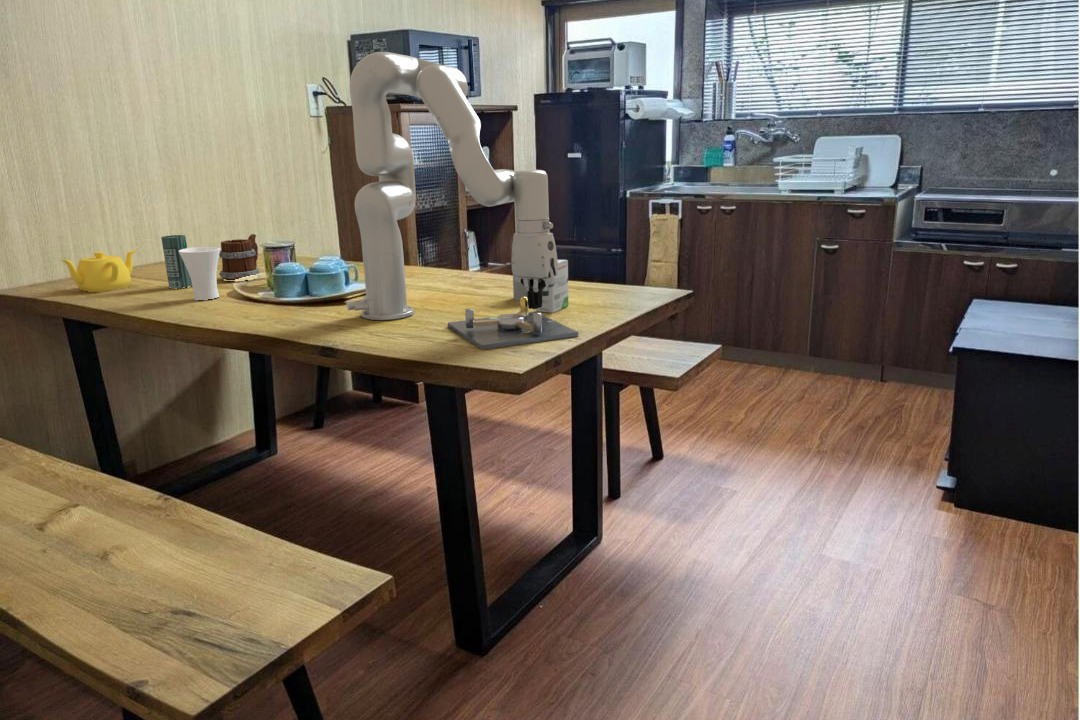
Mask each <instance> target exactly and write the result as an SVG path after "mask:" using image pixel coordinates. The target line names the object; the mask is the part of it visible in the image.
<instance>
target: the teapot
mask: <svg viewBox="0 0 1080 720" xmlns="http://www.w3.org/2000/svg"><path fill="white" fill-rule="evenodd" d="M136 251H137V249H133V250H130V251H127V253H126V256H125V262H124V260H123V259H122V258H121V257H120V256H119V255H118V256H117V255H105V251H95V252H93V255H94V256H91V257H84V258H80V259H79V261H78V264H77V268H76V266H75V265H74V262H73V261H71V260H69V259H60V261H61V262H63V263H64V264H66V266H67V268H68V272H69V275H70V277H71V279H72V280H73V282H75V283H76V286H77V287H78V289H80V290H81V291H82V290H83V291H82V292H85V291H88V292H87V293H91V292H96V293H102V292H101V291H106V292H109V291H108V290H113V289H118V288H123V287H126V286H129V285H130V286H131V283H132V277H131V274H132V272H133V268H134V267H133V255H134V253H136ZM130 286H129V287H130ZM123 289H124V288H123ZM118 290H119V289H118ZM113 291H114V290H113Z"/></svg>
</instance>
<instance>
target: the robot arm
mask: <svg viewBox="0 0 1080 720" xmlns="http://www.w3.org/2000/svg"><path fill="white" fill-rule="evenodd" d="M468 88H469V87H468V82H467V78H466V77H465V74H464V73H463V72H462V71H461V70H459V69H458V68H456V67H454V66H451V65H450V66H449V65H446V64H441V63H436V62H434V61H433V62H432V61H429V60H425V59H422V58H418V57H414V56H410V55H405V54H399V53H395V52H389V51H376V52H371V53H370V54H368V55H366V56H364V57H363V58H361V59H360V60H359V61H358V62H357V64H356V65H355V67H354V68H353V70H352V72H351V76H350V80H349V94H350V101H351V107H352V110H351V111H352V116H353V117H352V118H353V122H352V123H353V132H354V133H353V134H354V135H353V136H354V145H355V158H356V163H357V165H358V168H359V169H360V170H361V172H362V173H363V174H365V175H368V176H372V177H378V181H376V182H375V181H374V182H370V183H368V184H366V185H364V186H362V187H361V188H360V189H359V191H358V192H357V194H356V195H355V199H354V211H355V216H356V220H357V223H358V228H359V233H360V239H361V240H360V241H361V249H362V251H361V252H362V261H363V264H362V265H363V272H364V273H363V274H364V285H365V295H366V296H365V295H364V296H362V297H363V298H362V299H360V300H359V301H349V302H346V307H347V311H360V315H361V317H362V318H363V319H366V320H373V321H388V320H389V321H391V320H398V319H403V318H404V319H405V318H407V317H410V316H412V315H413V314H414V313H415V312H414V308H413V306H410V305H408V303H407V301H408V300H407V290H406V275H405V259H404V248H403V239H402V234H401V230H400V227H399V225H398V221H400V220H403V219H405V218H407V217H409V216H410V215H411V214H412V212H413V211H414V209H415V207H416V201H417V200H416V199H417V193H416V192H417V191H416V190H417V188H416V176H415V162H414V161H415V160H414V153H413V151H412V148H411V146H410V144H409V142H408V141H407V140H406V139H405V137H403V136H401V135H399V134H397V133H393V128H392V127H393V126H392V113H391V110H390V107H389V106H390V105H389V104H388V101H387V94H399V95H407V96H411V97H416V98H419V99H421V101H422V102H423V103H424V105H425V107H426V108H427V110H428V112H429V113H430V115H431V116H432V118H433V119H434V121H435V122H436V124H437V126H438V128H439V130H440V131H441V132H442V135H444V138H445V139H446V141H447V142H448V143H447V144H448V148H449V153H450V157H451V160H452V163H453V166H454V169H455V170H456V173H457V175H458V176H459V178H460V180H461V182H462V183H463V185H464V187H465V189H466V190H467V191H468V193H469V194H470V196H471V197H472V198H473V199H474V201H476V202H477V203H478V204H479V205H482V206H484V207H489V208H490V207H495V206H499V205H504V204H508V203H513V202H514V222H515V223H514V224H515V233H513V237H512V243H511V244H512V245H511V272H512V275H513V274H514V280H515V281H517V282H520V283H522V285H523V286H524V287H525V291H527V295H528V310H537V309H538V308H541V307H542V290H544V288H545V287H546V285H549V284H553V283H555V278H554V276H556V275H557V274H558V262H557V260H558V253H557V247H556V241H555V237H554V233H553V232H551V229H553V228H554V224H553V222H550V210H549V208H550V207H549V178H548V174H547V172H546V171H545V170H543V169H522V170H514V169H513V170H512V169H505V168H504V169H503V168H500V169H494V168H493V166H492V165H491V163H490V161H489V159H488V158H487V157H486V154H485V153H484V151H483V147H482V146H481V142H480V141H481V140H480V132H481V127H482V122H481V120H480V118H479V115H477V112H476V111H475V110H474V108H473V106H472V105H471V103H470V102H469V100H468V99H467V95H468V91H469V89H468ZM546 278H547V279H546Z"/></svg>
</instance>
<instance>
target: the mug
mask: <svg viewBox="0 0 1080 720" xmlns="http://www.w3.org/2000/svg"><path fill="white" fill-rule="evenodd" d="M256 238H257V234H255V233H253V234H250V235H249V236H248V238H247V239H243V238H242V239H231V240H230V239H228V240H222V241H221V242H220V253H219V258H221V264H222V265H221V266H222V270H220V272H219V273H218V274H219V276H220V278H222V280H223V279H226V280H235V279H239V278H242V277H246V276H250V275H256V274H258V273H261V272H260V269H259V267H257V260H258V256H259V255H258V254H259V248H258V244H257V243H256Z"/></svg>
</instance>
